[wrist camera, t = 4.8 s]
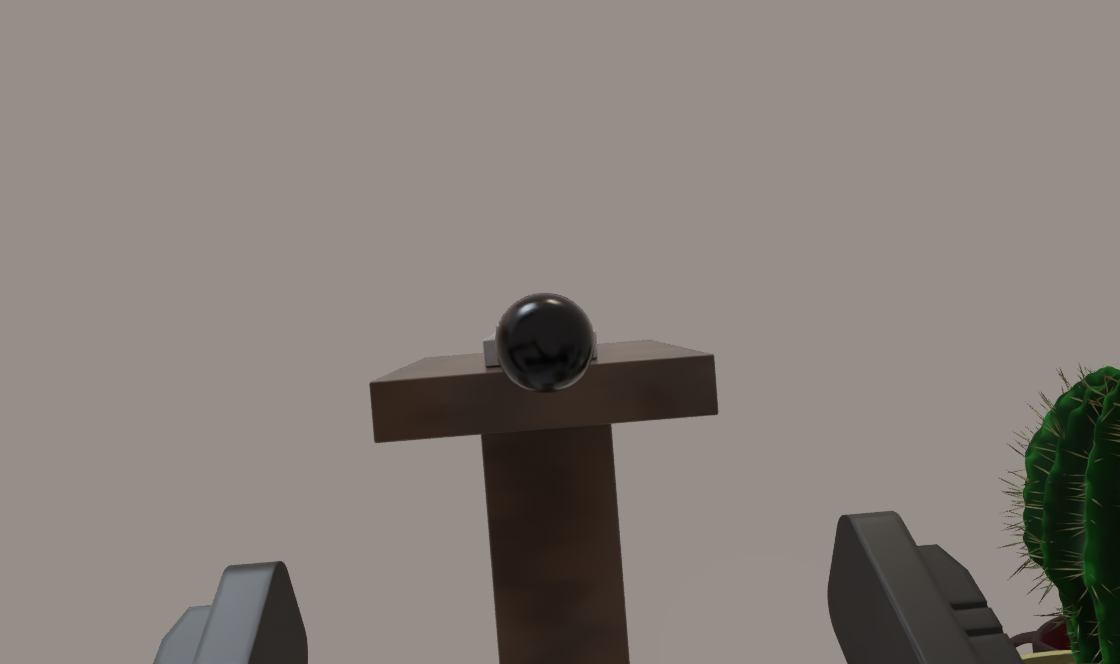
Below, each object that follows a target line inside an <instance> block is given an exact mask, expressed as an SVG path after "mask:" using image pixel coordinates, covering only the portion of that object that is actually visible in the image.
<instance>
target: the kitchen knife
mask: <svg viewBox="0 0 1120 664" xmlns="http://www.w3.org/2000/svg"><path fill="white" fill-rule="evenodd" d="M483 347H484V360H485V367H487V368H490V367H501V368H502V370H503V371H504V373H505V374H506V375H507V376H508V377H509V378H510V379H511V380H512V381H513V382H514V383H516V384H517V385H518V386H520V387H522V388H524V389H527V390H529V391H533V392H538V393H552V392H557V391H560V390H563V389H565V388H568V387H569V386H571V385H573V384H574V383H576V382H577V381H578V380H579V379H580V378H581V377H582V376H583V375H584V373H585V372H586V371H587V369H588V368H589V366H590V363H591V361H592V359H597V358H598V353H597V341H596V332H595V331H593V328H592V325H591V323H590V320H589V319H588V317H587V315H586V314H585V313H584V311H583V310H582V309H581V308H580V307H579V306H578V305H577V304H575V303H574V302H573V301H571V300H570V299H568V298H566V297H563V296H561V295H557V294H552V293H539V294H533V295H530V296H527V297H524V298H522V299H520V300H519V301H517V302H516V303H514V304H513V305H512V306H511V307H510V308H509V309H508V310H507V311H506V312H505V314H504V315H503V316H502V318H501V320H500V322H499V324H498V325H497V326H496V333H494V334H493V335H491V336H490V337H488V338H486V339H485V340H483Z"/></svg>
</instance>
